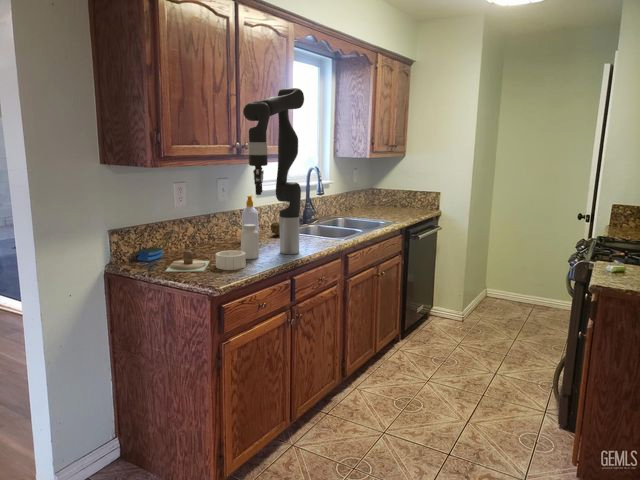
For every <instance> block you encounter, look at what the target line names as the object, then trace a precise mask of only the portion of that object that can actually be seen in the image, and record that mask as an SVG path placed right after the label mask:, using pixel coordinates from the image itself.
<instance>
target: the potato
mask: <svg viewBox="0 0 640 480" xmlns="http://www.w3.org/2000/svg"><path fill="white" fill-rule="evenodd" d="M270 232H271V233H272V234H275V235H277V236H279V237H280V222H272V223H271V224H270Z"/></svg>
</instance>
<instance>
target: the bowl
mask: <svg viewBox="0 0 640 480" xmlns="http://www.w3.org/2000/svg"><path fill="white" fill-rule="evenodd" d="M246 260H247V259H246V253H245V252H243V251H241V250H222V251H218V252H216V253H215V268H217V269H218V270H224V271H235V270H236V271H237V270H241V269H244V268H246V267H247V265H246V264H247V261H246Z"/></svg>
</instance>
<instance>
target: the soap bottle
mask: <svg viewBox="0 0 640 480" xmlns="http://www.w3.org/2000/svg"><path fill="white" fill-rule="evenodd" d="M252 197H253V195H252V194H251V195H248V196H247V200H246V203H245V204H246V206H245V208H243V210H242V212H241V232H242V231H244V225H245V224H254V225H256V228H255V230H256V231H257V232H258V233H259V213H258V210H257V208H255V207H254V201H253V200H252V199H253V198H252Z"/></svg>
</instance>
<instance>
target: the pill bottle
mask: <svg viewBox="0 0 640 480" xmlns="http://www.w3.org/2000/svg"><path fill="white" fill-rule="evenodd" d="M255 228H256V225H254V224H245V225H244V231H242V230H241V232H240V251H243V252H245V253H246V260H256V259H258V258H259V256H260V249H259V248H260V246H259V245H260V243H259V242H260V239H259V238H260V237H259V236H260V235H259V231H258V232H257V231H256V230H255Z"/></svg>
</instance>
